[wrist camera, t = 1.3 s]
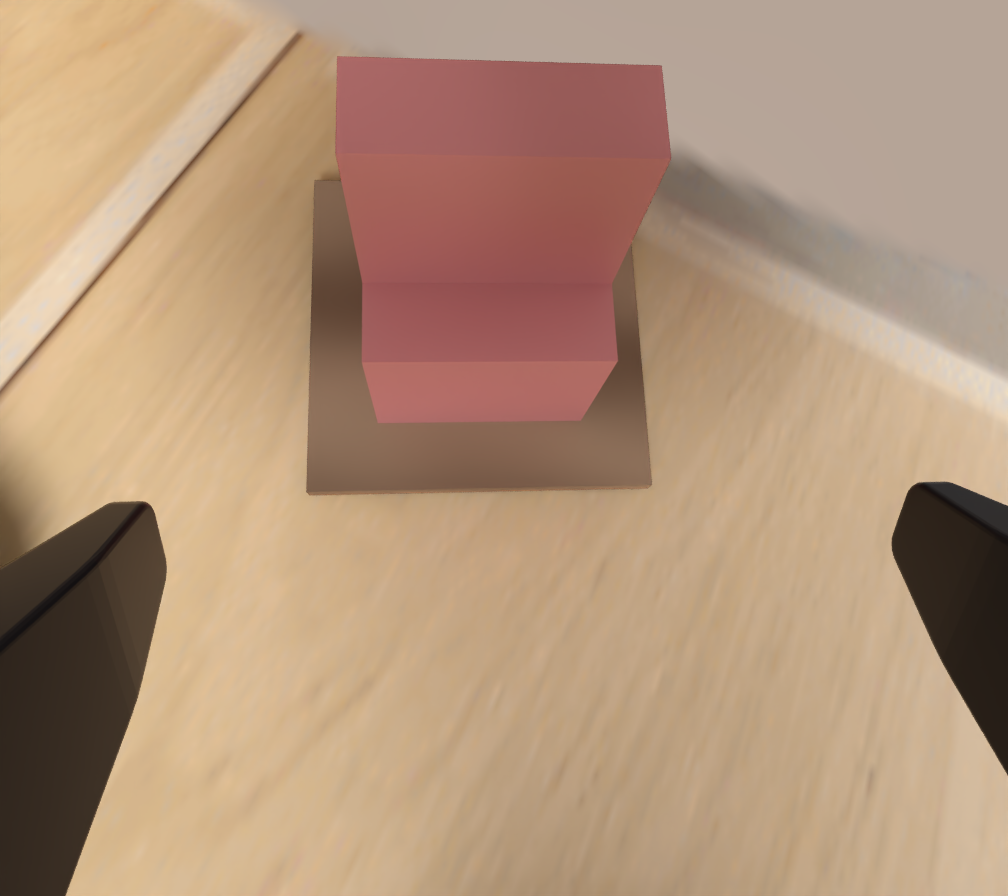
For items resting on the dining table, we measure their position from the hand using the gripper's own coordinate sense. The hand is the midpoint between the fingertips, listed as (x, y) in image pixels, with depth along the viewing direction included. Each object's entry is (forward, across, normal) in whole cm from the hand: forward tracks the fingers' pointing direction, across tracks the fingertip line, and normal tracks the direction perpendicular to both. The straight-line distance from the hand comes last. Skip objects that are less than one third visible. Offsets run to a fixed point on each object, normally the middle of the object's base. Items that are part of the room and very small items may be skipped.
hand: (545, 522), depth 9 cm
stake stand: (+15, 0, +4) cm, 16 cm away
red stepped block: (+15, 0, +3) cm, 15 cm away
